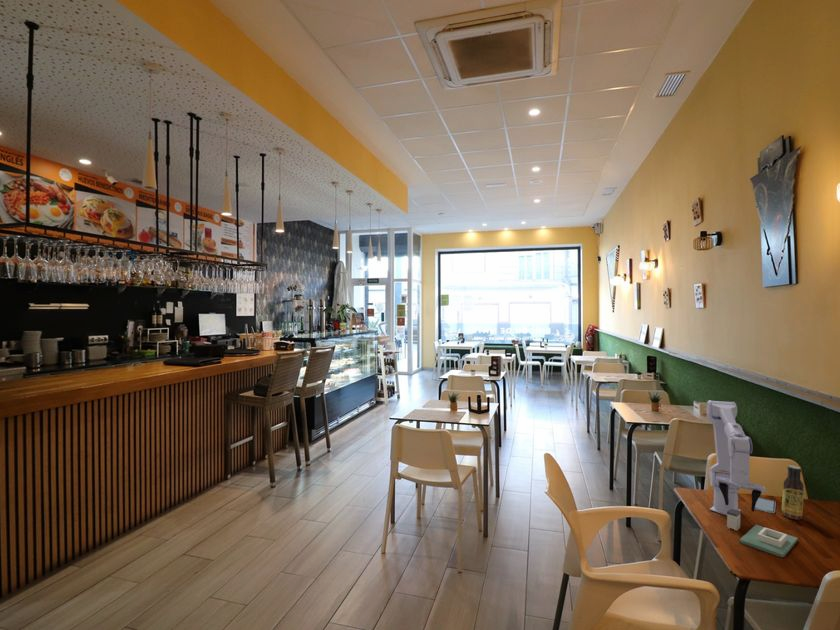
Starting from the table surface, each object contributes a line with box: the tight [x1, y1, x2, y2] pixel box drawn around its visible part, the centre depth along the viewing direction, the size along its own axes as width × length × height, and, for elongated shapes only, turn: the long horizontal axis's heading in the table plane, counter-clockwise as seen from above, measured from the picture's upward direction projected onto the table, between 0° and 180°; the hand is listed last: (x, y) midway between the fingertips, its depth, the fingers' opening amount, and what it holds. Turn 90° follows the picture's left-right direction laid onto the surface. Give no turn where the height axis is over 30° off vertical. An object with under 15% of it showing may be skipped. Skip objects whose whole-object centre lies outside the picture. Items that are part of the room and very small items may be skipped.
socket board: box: [739, 524, 799, 559], centre depth 153 cm, size 18×12×3 cm, turn 128°
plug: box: [726, 509, 741, 531], centre depth 162 cm, size 4×3×6 cm
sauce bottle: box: [781, 464, 805, 521], centre depth 171 cm, size 7×6×20 cm
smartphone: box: [754, 497, 777, 515], centre depth 182 cm, size 7×1×15 cm
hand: (739, 507), depth 159 cm, fingers open, 7 cm apart
